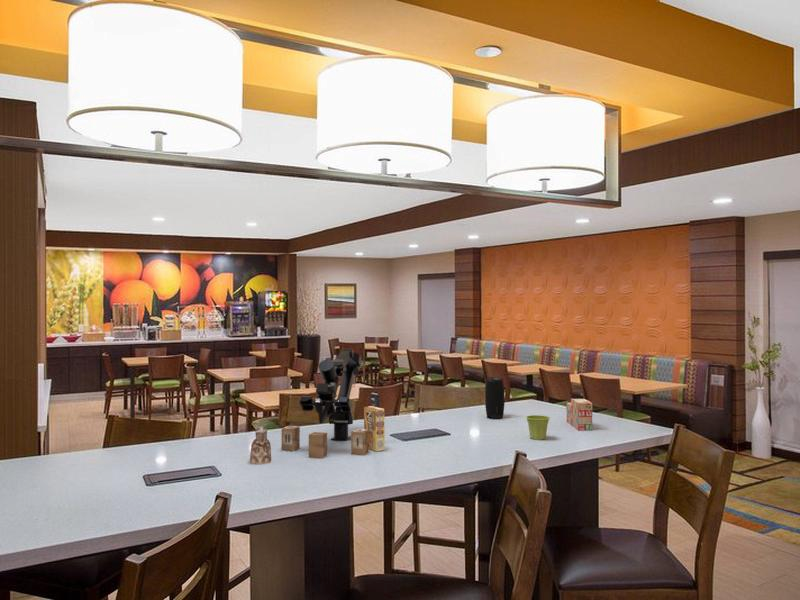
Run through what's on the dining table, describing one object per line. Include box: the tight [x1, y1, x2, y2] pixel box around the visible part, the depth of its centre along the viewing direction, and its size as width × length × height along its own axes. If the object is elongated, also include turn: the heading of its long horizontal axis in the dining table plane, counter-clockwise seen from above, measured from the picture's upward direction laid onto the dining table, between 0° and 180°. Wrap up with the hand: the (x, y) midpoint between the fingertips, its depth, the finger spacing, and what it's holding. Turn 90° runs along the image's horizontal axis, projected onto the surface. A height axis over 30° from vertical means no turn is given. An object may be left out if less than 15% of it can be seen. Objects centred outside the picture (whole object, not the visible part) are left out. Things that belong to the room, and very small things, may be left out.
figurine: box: [249, 424, 272, 465], centre depth 202 cm, size 7×7×12 cm
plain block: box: [308, 431, 328, 459], centre depth 210 cm, size 5×5×8 cm
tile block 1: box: [281, 425, 301, 452], centre depth 221 cm, size 5×5×8 cm
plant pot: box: [525, 414, 551, 441], centre depth 241 cm, size 9×9×9 cm
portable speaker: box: [484, 376, 506, 420], centre depth 290 cm, size 9×9×20 cm
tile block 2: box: [350, 428, 370, 456], centre depth 215 cm, size 5×5×8 cm
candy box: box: [363, 405, 386, 452], centre depth 222 cm, size 9×4×15 cm, turn 33°
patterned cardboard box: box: [565, 398, 593, 432], centre depth 268 cm, size 21×6×12 cm, turn 178°
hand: (320, 422), depth 214 cm, fingers closed
